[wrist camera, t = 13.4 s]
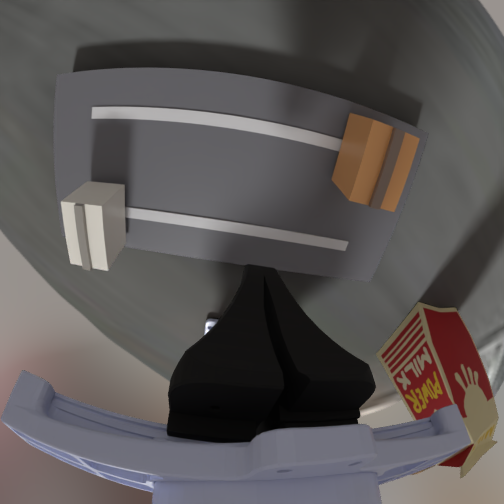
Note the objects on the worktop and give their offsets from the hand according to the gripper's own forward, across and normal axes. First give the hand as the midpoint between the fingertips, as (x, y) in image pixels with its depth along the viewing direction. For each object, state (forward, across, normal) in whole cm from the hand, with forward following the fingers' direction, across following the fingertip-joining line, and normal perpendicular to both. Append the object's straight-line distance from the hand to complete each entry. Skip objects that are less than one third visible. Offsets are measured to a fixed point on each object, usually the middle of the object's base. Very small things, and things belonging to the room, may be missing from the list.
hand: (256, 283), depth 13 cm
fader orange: (+6, -6, -6) cm, 11 cm away
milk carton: (+9, -24, +12) cm, 28 cm away
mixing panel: (+9, +2, -3) cm, 10 cm away
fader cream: (+6, +10, +1) cm, 12 cm away
